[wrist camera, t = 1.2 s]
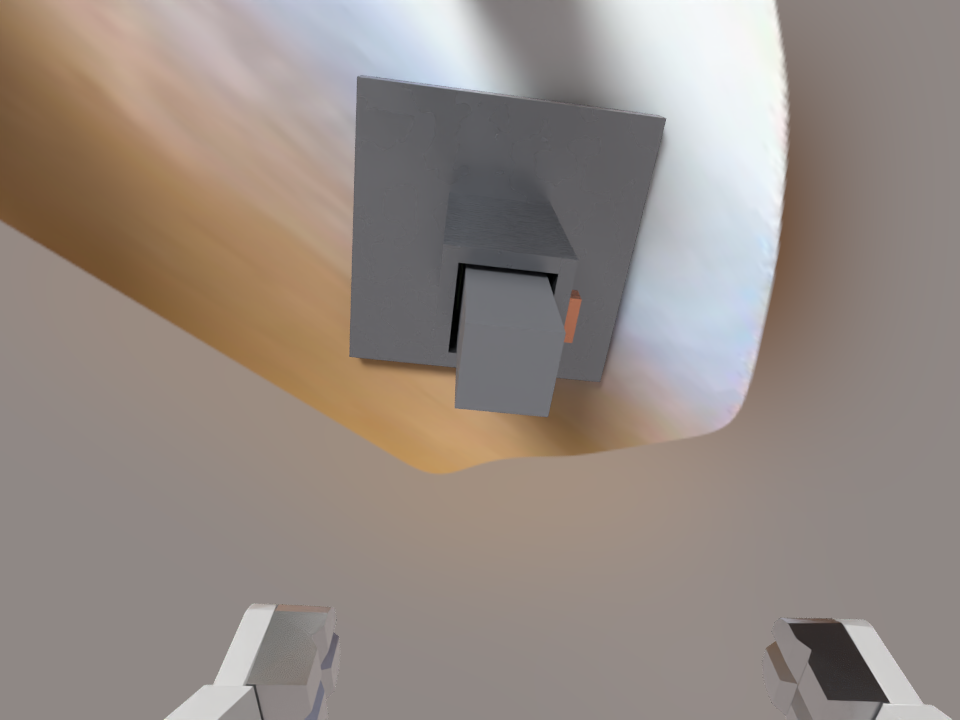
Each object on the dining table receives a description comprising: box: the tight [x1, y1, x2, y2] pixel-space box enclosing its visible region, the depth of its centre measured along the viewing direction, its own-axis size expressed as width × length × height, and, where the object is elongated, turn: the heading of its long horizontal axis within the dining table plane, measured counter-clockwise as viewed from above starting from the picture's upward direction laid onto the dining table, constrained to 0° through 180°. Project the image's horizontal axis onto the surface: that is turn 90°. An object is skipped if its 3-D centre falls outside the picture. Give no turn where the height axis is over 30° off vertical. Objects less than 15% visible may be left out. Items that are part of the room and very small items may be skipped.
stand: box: [349, 75, 666, 382], centre depth 35 cm, size 18×18×12 cm
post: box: [455, 263, 566, 417], centre depth 32 cm, size 4×4×16 cm
